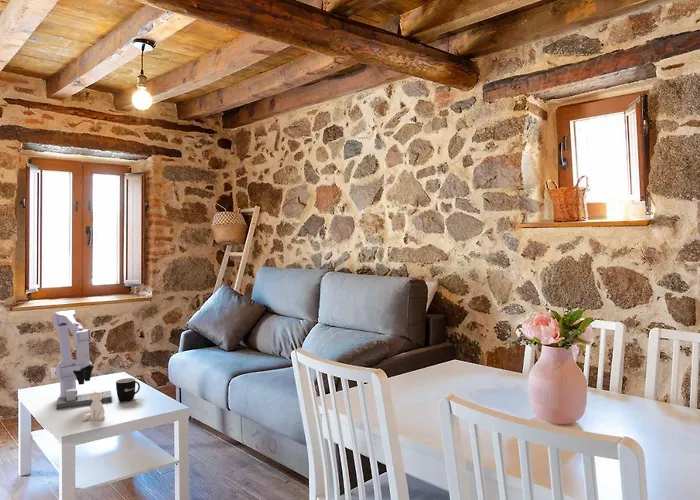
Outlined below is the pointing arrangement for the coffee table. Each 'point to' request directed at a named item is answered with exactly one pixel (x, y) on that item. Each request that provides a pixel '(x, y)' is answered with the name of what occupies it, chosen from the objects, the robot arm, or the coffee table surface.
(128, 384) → the mug
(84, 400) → the panel
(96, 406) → the seated beast figurine
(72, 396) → the plug
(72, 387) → the robot arm
